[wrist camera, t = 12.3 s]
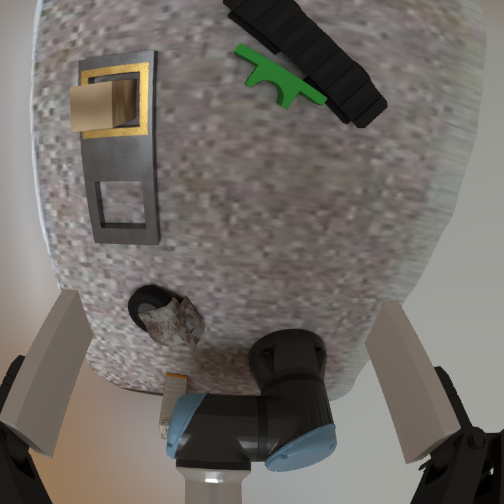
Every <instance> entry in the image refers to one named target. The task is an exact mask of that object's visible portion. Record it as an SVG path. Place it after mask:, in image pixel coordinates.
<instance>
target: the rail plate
mask: <svg viewBox="0 0 504 504" xmlns="http://www.w3.org/2000/svg"><path fill="white" fill-rule="evenodd" d="M156 70H157V51H154V50H152V51H141V52H132V53H124V54H116V55H109V56H103V57H97V58H91V59H86V60H81V61H79V79H78V86H81V85H87V84H94V77H98V76H105V75H113V74H121V73H131V72H140V125H130V126H116V127H114V128H109V129H97V130H87V131H80V139H81V152H82V162H83V171H84V179H85V187H86V194H87V201H88V208H89V214H90V220H91V225H92V231H93V236H94V241H95V243H108V244H135V245H159V242H160V240H161V239H160V227H159V213H158V197H157V177H156V141H155V104H156ZM99 181H142V183H143V197H144V209H145V221H146V224H133V223H105V221H104V214H103V207H102V200H101V192H100V184H99Z"/></svg>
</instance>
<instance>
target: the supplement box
mask: <svg viewBox="0 0 504 504" xmlns="http://www.w3.org/2000/svg"><path fill="white" fill-rule="evenodd" d="M186 388H187V376H183V375H177V374H170V373H167V376H166V381H165V387H164V393H163V400H162V406H161V414H160V421H159V432H160V439H165V440H167V434H168V428H169V423H170V418H171V415H172V411H173V408H174V405H175V403H176V401H177V399H178V398H179V397H180V396H181V395H183V394H185V393H186Z"/></svg>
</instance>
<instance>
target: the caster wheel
mask: <svg viewBox="0 0 504 504" xmlns="http://www.w3.org/2000/svg"><path fill="white" fill-rule="evenodd" d="M128 311H129V314H130V316H131V318H132V320H133V321H134V322H135V324H136V325H137V326H138V327H140V328H141V329H142V330H144V331H146V332H148V333H149V335H150V337H151V338H152V339H153V340H154V341H155V342H157V343H158V344H161V345H164V346H170V347H177V346H183V345H188V346H189V348H190V349H191V350H192V351H194V349H195V347H196V345H197V343H198V341H199V339H200V337H201V335H202V333H203V331H204V329H205V325H204V323H203V321H202V320H201V318H200V317H199V315H198V313H197V312H196V310H195V308H194V307H193V305H192V303H191V302H190V300H189V298H188V297H187V296H186V297H185V298H184V300H183V301H182V303H181V304H180V303H179V302H178V300H176V299H175V298H174V297H170V296H169V295H168V294H167V293H166V292H164V291H163V290H161V289H159V288H156V287H153V286H144V287H141V288H140V289H138V290H137V291H136V292H135V293H134V295H133V296H132V297H131V298H130V300H129V302H128Z"/></svg>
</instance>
